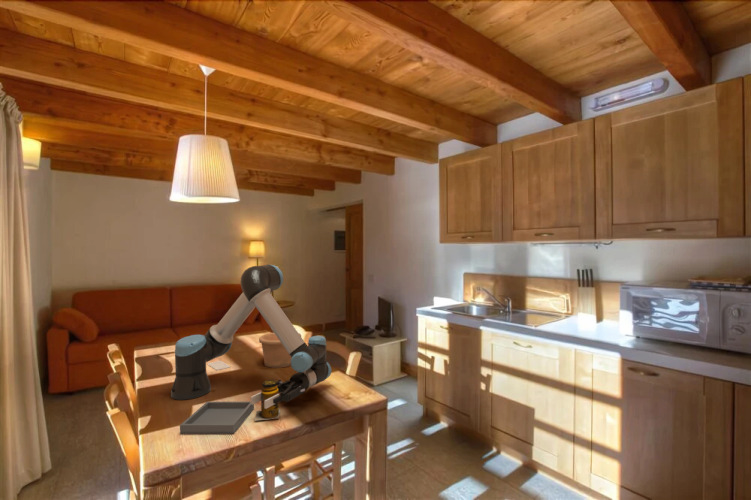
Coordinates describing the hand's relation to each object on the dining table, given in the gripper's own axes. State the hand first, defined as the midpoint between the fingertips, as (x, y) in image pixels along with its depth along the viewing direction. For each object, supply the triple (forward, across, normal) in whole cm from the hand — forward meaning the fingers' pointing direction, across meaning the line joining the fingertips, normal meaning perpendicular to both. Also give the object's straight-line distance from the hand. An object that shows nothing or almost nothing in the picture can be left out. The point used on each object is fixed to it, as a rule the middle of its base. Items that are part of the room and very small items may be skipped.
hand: (258, 402), depth 124 cm
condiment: (-5, +1, -7) cm, 9 cm away
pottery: (-52, +41, -8) cm, 67 cm away
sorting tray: (+5, +14, -7) cm, 16 cm away
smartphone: (-34, +67, -8) cm, 76 cm away
